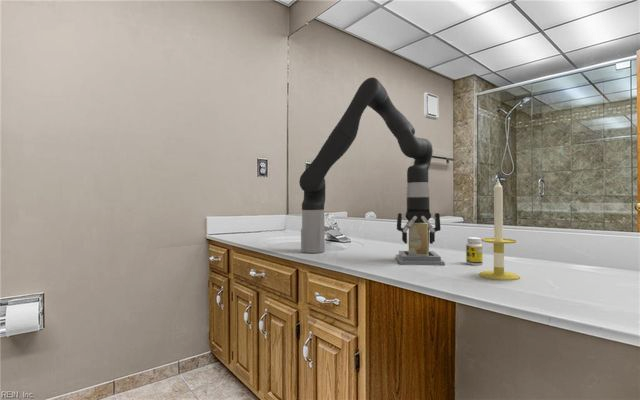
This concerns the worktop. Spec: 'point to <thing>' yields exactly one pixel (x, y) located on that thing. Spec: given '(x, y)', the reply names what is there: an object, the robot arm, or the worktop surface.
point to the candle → (498, 240)
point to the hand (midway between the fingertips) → (418, 243)
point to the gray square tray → (419, 259)
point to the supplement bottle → (474, 251)
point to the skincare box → (419, 239)
